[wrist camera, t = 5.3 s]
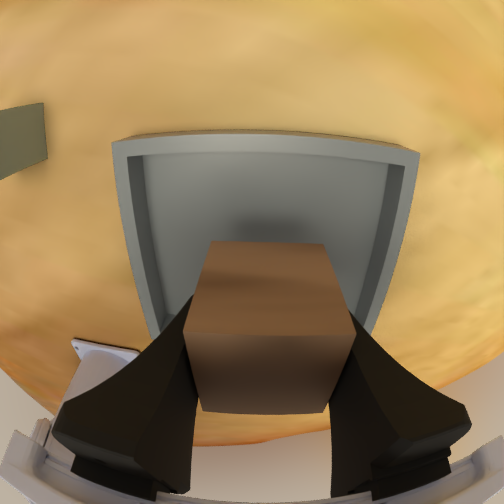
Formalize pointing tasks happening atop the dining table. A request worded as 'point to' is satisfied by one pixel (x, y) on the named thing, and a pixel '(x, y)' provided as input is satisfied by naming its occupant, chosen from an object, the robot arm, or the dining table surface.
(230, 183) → the tray
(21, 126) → the tall block
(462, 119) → the dining table surface
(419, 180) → the dining table surface
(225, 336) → the short block
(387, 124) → the dining table surface
